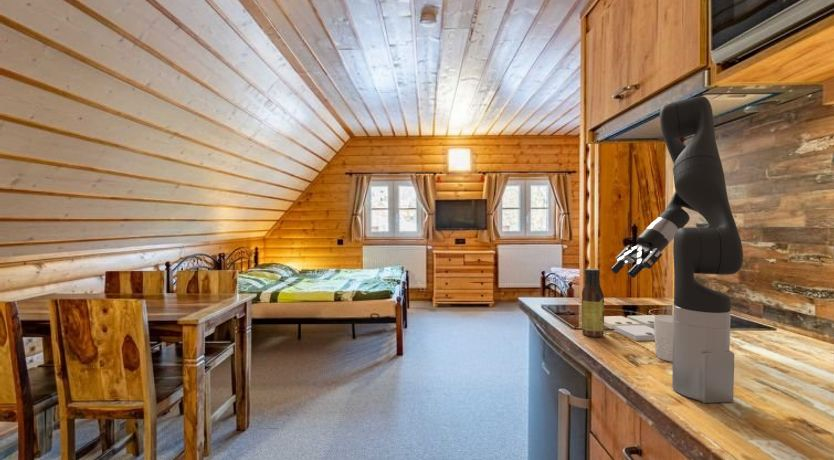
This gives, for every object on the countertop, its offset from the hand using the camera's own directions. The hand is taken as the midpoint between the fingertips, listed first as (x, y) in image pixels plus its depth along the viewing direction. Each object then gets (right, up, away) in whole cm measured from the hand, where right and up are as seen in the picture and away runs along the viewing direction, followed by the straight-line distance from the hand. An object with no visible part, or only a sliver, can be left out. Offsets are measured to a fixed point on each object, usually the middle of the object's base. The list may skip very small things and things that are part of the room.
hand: (621, 273), depth 119 cm
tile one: (+5, -18, -1) cm, 19 cm away
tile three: (+16, -18, +12) cm, 27 cm away
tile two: (+4, -18, +11) cm, 22 cm away
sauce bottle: (-9, -19, -1) cm, 21 cm away
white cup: (+2, -19, -20) cm, 28 cm away
